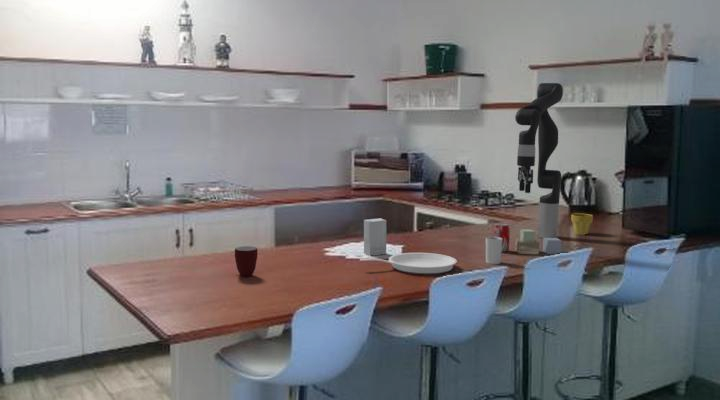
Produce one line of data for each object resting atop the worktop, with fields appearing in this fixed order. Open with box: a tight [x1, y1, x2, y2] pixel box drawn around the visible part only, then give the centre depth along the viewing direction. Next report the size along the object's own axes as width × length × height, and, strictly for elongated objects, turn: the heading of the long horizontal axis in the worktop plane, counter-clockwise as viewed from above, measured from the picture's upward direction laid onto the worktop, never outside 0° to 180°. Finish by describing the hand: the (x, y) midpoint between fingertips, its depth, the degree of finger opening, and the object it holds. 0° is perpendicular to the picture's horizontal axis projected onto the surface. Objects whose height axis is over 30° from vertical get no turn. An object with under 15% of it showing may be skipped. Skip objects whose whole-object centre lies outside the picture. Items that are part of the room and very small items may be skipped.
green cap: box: [519, 228, 536, 242], centre depth 287 cm, size 5×5×5 cm
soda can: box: [492, 222, 511, 253], centre depth 289 cm, size 7×7×12 cm
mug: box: [234, 245, 258, 278], centre depth 239 cm, size 11×8×10 cm
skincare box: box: [363, 217, 387, 256], centre depth 278 cm, size 8×6×15 cm
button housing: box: [514, 238, 540, 255], centre depth 287 cm, size 8×8×5 cm
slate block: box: [542, 237, 562, 255], centre depth 288 cm, size 6×6×6 cm
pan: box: [359, 252, 458, 275], centre depth 253 cm, size 26×39×5 cm
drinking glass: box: [485, 236, 502, 265], centre depth 265 cm, size 7×7×10 cm
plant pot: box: [570, 212, 594, 236], centre depth 336 cm, size 10×10×10 cm
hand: (524, 191), depth 290 cm, fingers open, 8 cm apart
